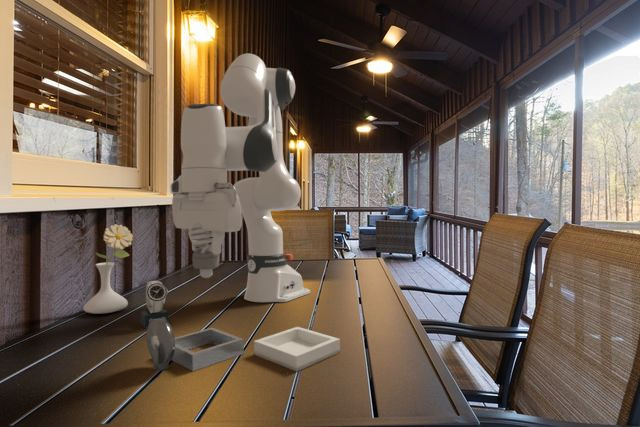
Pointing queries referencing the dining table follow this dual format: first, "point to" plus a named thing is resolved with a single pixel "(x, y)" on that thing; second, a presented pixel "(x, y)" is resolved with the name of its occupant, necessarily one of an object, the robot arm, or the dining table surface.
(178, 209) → the robot arm
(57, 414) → the dining table surface
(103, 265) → the flower in vase
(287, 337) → the tray
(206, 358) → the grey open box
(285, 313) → the dining table surface
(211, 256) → the light bulb
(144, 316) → the watch
